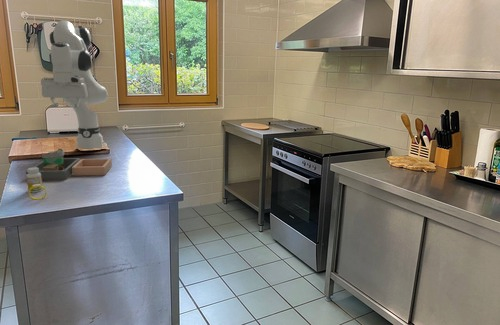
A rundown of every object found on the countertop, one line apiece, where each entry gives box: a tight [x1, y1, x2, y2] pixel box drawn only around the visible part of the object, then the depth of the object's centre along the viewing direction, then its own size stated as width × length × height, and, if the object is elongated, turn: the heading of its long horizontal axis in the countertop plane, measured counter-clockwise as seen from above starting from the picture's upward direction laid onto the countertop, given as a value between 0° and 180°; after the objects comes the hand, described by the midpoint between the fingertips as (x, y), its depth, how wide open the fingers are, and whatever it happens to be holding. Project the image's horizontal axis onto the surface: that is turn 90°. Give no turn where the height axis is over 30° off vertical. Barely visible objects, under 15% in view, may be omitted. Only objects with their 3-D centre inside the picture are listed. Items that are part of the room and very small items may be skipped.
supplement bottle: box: [25, 166, 44, 193], centre depth 155 cm, size 5×5×10 cm
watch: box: [28, 184, 47, 201], centre depth 146 cm, size 6×3×6 cm, turn 119°
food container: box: [41, 148, 65, 170], centre depth 183 cm, size 12×6×10 cm, turn 168°
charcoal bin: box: [25, 157, 82, 181], centre depth 181 cm, size 24×17×4 cm
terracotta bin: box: [72, 158, 113, 176], centre depth 185 cm, size 16×15×4 cm
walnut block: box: [43, 165, 58, 171], centre depth 175 cm, size 5×5×5 cm
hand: (66, 106), depth 181 cm, fingers open, 8 cm apart
